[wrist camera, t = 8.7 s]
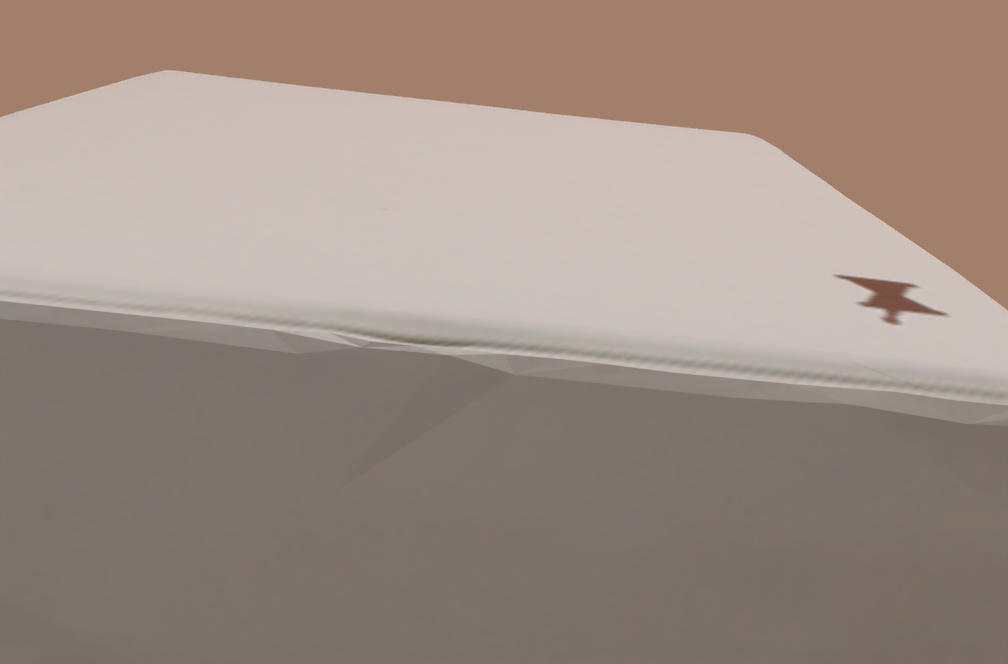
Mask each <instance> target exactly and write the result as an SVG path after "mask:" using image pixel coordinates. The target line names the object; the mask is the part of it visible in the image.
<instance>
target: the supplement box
mask: <svg viewBox="0 0 1008 664" xmlns="http://www.w3.org/2000/svg"><path fill="white" fill-rule="evenodd" d="M0 664H1008V310H1006V309H1005V308H1004V307H1002V306H1001V305H1000V304H998V303H997V302H996V301H994V300H993V299H992V298H990V297H989V296H988V295H986V294H985V293H984V292H982V291H981V290H980V289H978V288H977V287H975V286H974V285H973V284H972V283H970V282H969V281H968V280H966V279H965V278H964V277H962V276H961V275H959V274H958V273H957V272H956V271H954V270H953V269H952V268H950V267H949V266H947V265H946V264H944V263H943V262H941V261H940V260H938V259H937V258H935V257H934V256H932V255H931V254H929V253H928V252H926V251H925V250H923V249H922V248H920V247H919V246H918V245H916V244H915V243H913V242H912V241H910V240H909V239H907V238H906V237H904V236H903V235H902V234H900V233H899V232H897V231H896V230H894V229H893V228H891V227H890V226H889V225H887V224H886V223H884V222H883V221H881V220H880V219H878V218H877V217H875V216H874V215H872V214H871V213H869V212H868V211H866V210H865V209H863V208H862V207H860V206H858V205H857V204H856V203H854V202H852V201H851V200H850V199H848V198H847V197H845V196H844V195H843V194H841V193H840V192H839V191H837V190H836V189H834V188H833V187H832V186H830V185H829V184H827V183H826V182H825V181H823V180H822V179H820V178H819V177H817V176H816V175H814V174H813V173H812V172H810V171H809V170H807V169H806V168H804V167H803V166H801V165H800V164H799V163H797V162H796V161H794V160H793V159H791V158H790V157H789V156H788V155H786V154H785V153H783V152H782V151H781V150H780V149H778V148H776V147H775V146H773V145H771V144H769V143H768V142H766V141H765V140H763V139H761V138H758V137H756V136H753V135H749V134H743V133H734V132H724V131H714V130H703V129H692V128H683V127H674V126H663V125H653V124H644V123H635V122H625V121H615V120H605V119H595V118H586V117H576V116H566V115H557V114H549V113H540V112H531V111H523V110H514V109H506V108H497V107H488V106H480V105H470V104H461V103H452V102H443V101H434V100H425V99H415V98H405V97H397V96H388V95H379V94H370V93H361V92H352V91H343V90H334V89H325V88H317V87H308V86H299V85H290V84H282V83H273V82H265V81H257V80H248V79H240V78H231V77H223V76H214V75H205V74H197V73H189V72H181V71H175V70H164V71H161V72H157V73H152V74H148V75H144V76H138V77H134V78H131V79H128V80H124V81H121V82H118V83H115V84H111V85H107V86H104V87H101V88H97V89H93V90H90V91H87V92H83V93H80V94H76V95H73V96H69V97H66V98H63V99H60V100H56V101H52V102H50V103H46V104H42V105H39V106H36V107H32V108H29V109H25V110H22V111H19V112H16V113H12V114H9V115H6V116H3V117H0Z"/></svg>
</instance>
